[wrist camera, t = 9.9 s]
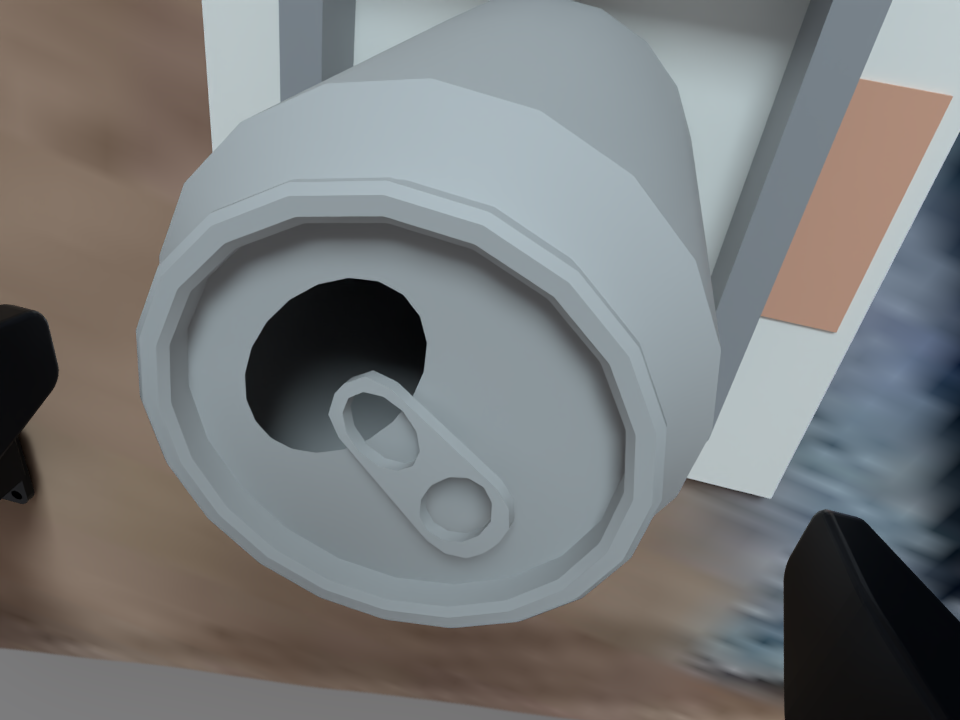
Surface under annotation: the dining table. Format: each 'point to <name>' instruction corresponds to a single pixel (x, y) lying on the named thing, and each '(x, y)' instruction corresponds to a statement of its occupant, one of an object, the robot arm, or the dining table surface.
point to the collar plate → (715, 163)
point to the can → (443, 320)
